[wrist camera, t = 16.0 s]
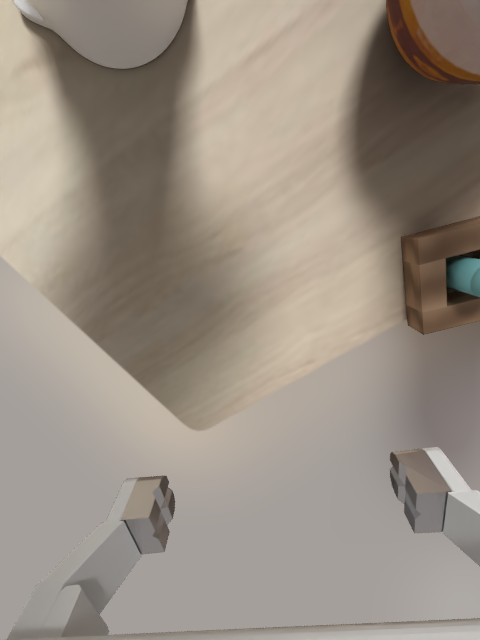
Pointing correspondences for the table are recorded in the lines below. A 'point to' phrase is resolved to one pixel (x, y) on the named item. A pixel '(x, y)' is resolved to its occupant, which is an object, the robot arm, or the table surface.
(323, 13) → the table surface
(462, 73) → the jug
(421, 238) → the socket block
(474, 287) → the peg
